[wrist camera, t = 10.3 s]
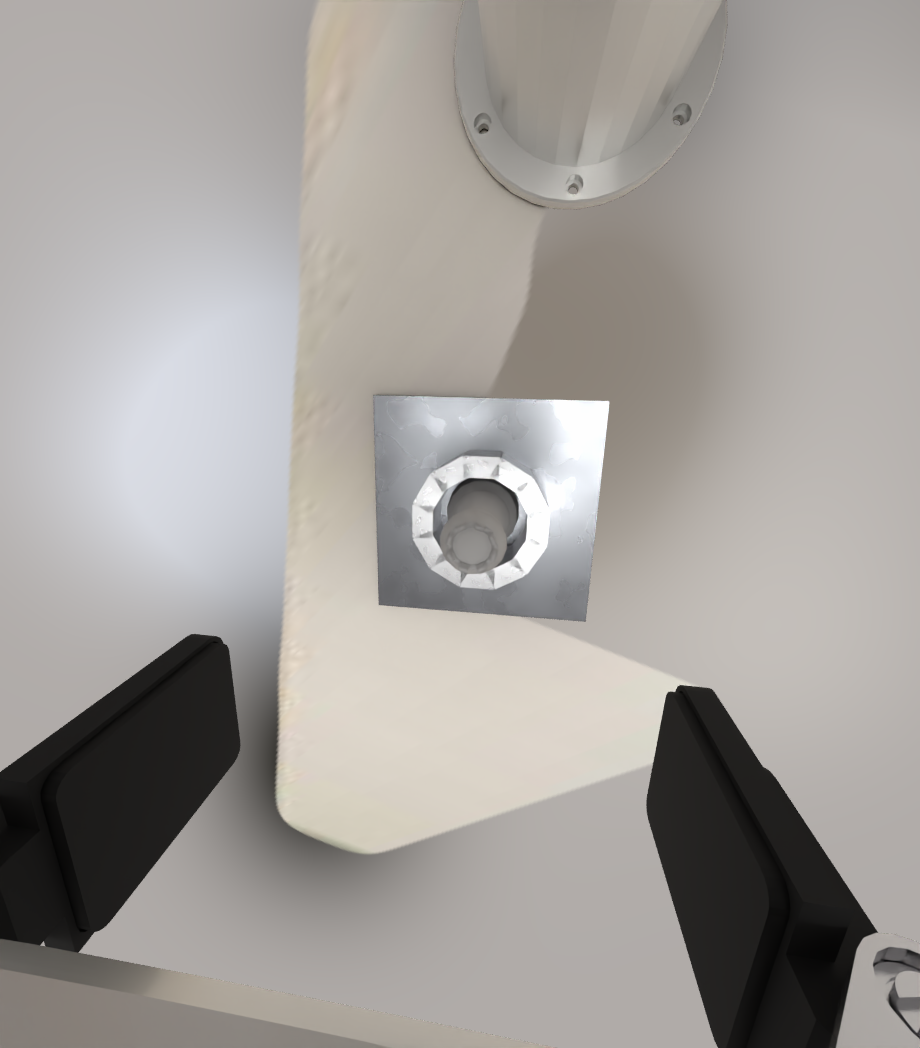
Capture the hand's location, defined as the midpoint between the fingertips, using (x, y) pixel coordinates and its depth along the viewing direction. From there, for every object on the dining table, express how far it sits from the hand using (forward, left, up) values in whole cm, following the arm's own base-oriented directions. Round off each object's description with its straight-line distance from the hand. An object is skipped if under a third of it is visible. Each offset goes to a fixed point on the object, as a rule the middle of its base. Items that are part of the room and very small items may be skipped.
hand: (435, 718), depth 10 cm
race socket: (0, -1, -20) cm, 20 cm away
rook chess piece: (0, -1, -20) cm, 20 cm away
